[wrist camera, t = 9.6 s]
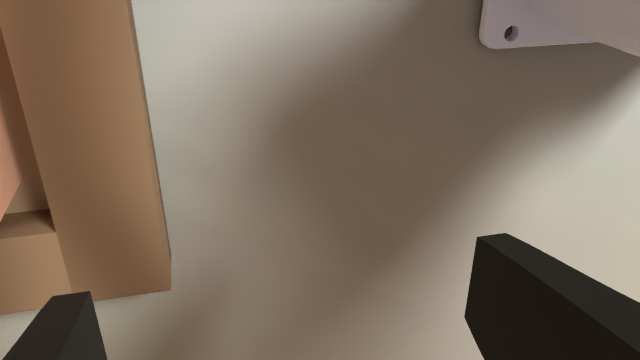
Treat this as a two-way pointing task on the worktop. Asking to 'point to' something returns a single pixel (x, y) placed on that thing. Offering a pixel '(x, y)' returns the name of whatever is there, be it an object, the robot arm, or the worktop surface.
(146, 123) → the board
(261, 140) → the worktop surface
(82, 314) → the robot arm
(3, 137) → the bar
